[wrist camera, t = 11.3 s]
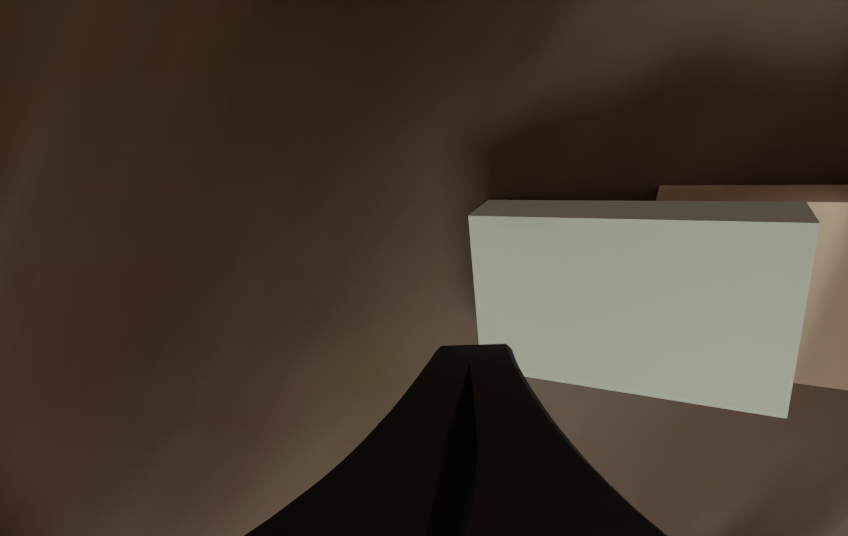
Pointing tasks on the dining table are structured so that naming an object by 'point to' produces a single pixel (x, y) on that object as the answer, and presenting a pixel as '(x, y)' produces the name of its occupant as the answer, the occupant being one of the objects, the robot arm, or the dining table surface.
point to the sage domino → (649, 295)
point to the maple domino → (830, 280)
